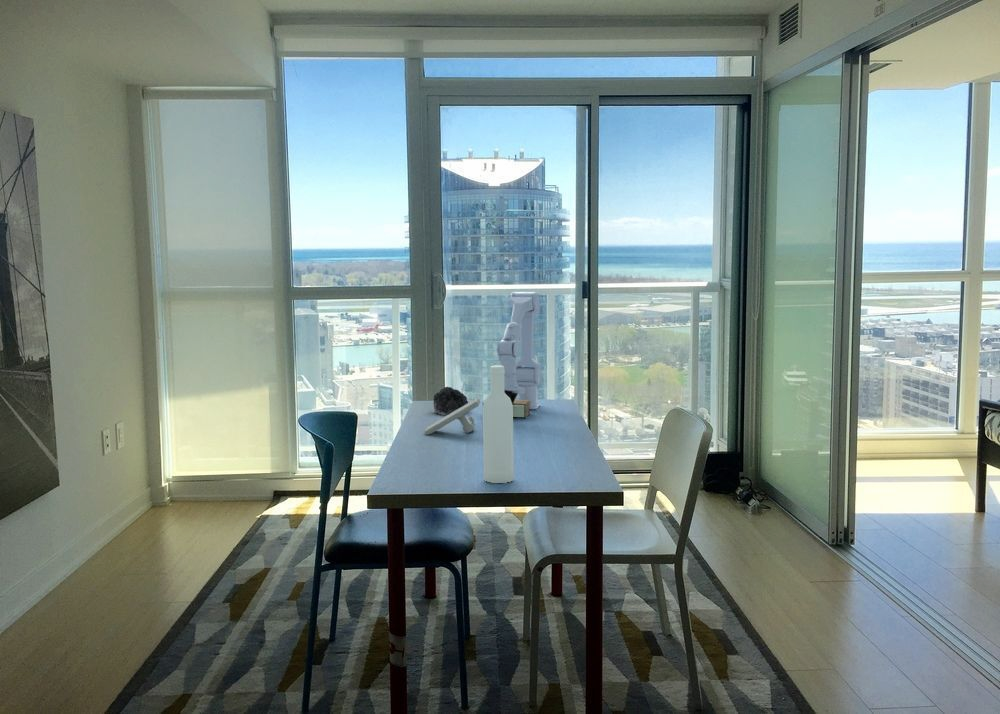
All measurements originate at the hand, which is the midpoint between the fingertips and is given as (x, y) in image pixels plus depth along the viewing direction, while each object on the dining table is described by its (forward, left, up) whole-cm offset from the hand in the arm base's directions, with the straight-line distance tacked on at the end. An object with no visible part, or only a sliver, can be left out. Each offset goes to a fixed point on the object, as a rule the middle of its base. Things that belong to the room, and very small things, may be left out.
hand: (508, 412), depth 290 cm
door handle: (+18, -15, -3) cm, 24 cm away
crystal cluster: (-10, -24, -3) cm, 26 cm away
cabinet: (-6, -2, -3) cm, 7 cm away
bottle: (+76, +13, -3) cm, 77 cm away
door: (-2, -2, -2) cm, 3 cm away
